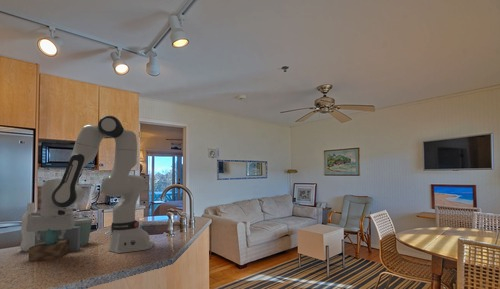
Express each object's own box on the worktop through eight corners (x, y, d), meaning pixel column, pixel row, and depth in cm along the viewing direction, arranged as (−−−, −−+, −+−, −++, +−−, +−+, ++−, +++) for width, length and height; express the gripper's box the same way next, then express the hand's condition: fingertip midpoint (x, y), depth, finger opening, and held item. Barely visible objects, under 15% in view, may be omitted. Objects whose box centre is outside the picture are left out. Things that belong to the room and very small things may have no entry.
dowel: (56, 251, 135) (57, 226, 136) (52, 253, 131) (53, 228, 132) (47, 251, 134) (48, 227, 136) (43, 254, 130) (44, 229, 132)
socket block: (68, 251, 140) (69, 239, 140) (57, 258, 128) (57, 245, 129) (42, 253, 137) (43, 241, 138) (28, 261, 126) (29, 247, 126)
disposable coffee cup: (95, 241, 158) (96, 216, 159) (85, 247, 147) (85, 219, 149) (77, 242, 158) (78, 216, 159) (65, 247, 147) (66, 220, 148)
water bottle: (22, 253, 139) (25, 204, 141) (17, 251, 143) (20, 203, 145) (39, 249, 145) (41, 202, 147) (33, 247, 149) (35, 202, 151)
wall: (79, 249, 144) (80, 226, 145) (77, 250, 141) (78, 227, 142) (37, 252, 140) (38, 228, 141) (34, 254, 137) (35, 230, 138)
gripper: (23, 213, 129) (22, 242, 128) (70, 211, 133) (69, 239, 132) (31, 211, 136) (30, 239, 134) (76, 209, 140) (75, 236, 138)
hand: (50, 239), depth 133 cm, fingers open, 8 cm apart
